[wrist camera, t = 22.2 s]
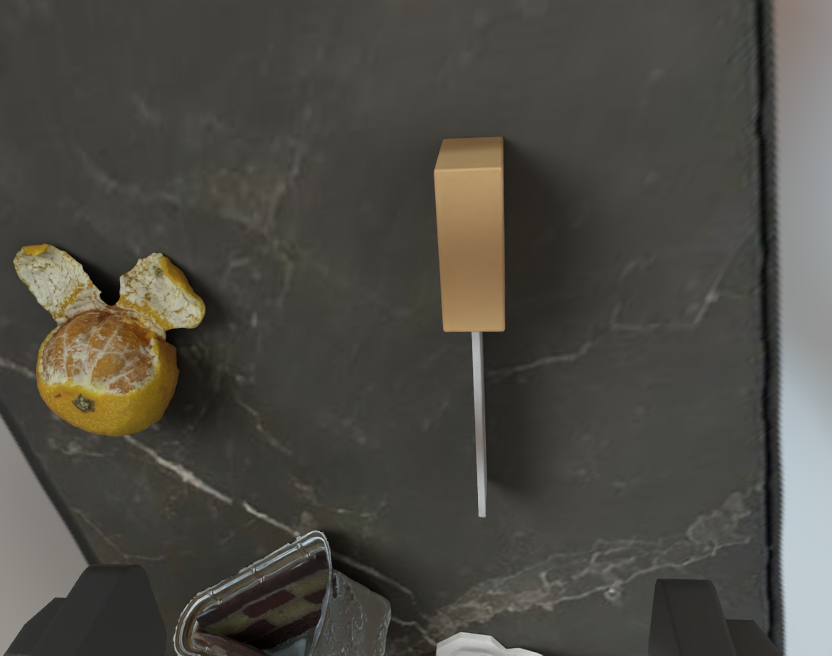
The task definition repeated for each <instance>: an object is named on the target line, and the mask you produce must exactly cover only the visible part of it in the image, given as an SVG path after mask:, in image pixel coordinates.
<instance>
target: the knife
mask: <svg viewBox="0 0 832 656" xmlns="http://www.w3.org/2000/svg"><path fill="white" fill-rule="evenodd" d="M434 182H435V199H436V215H437V232H438V249H439V265H440V282H441V299H442V315H443V330H444V331H445V332H472V351H473V377H474V404H475V430H476V456H477V482H478V508H479V517H486V491H487V463H486V429H485V396H484V362H483V332H495V331H504V330H505V244H504V162H503V138H502V137H481V138H458V139H444V140H443V141H442V145H441V148H440V152H439V156H438V159H437V163H436V166H435V170H434Z"/></svg>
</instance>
